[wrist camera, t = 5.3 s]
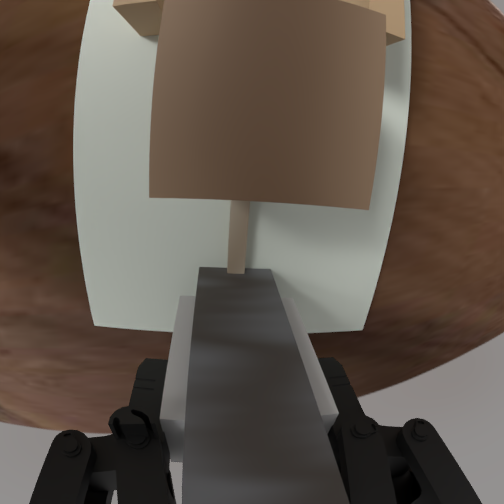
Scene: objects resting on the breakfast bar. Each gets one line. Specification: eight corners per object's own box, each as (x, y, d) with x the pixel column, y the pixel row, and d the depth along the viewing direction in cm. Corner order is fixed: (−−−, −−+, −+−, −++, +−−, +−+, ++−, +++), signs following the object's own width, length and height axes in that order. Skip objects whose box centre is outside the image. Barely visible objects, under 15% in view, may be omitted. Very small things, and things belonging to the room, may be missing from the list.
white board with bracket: (99, 315, 16) (71, 372, 12) (114, -54, 8) (85, -97, 3) (356, 320, 18) (389, 373, 14) (398, -23, 10) (447, -51, 5)
